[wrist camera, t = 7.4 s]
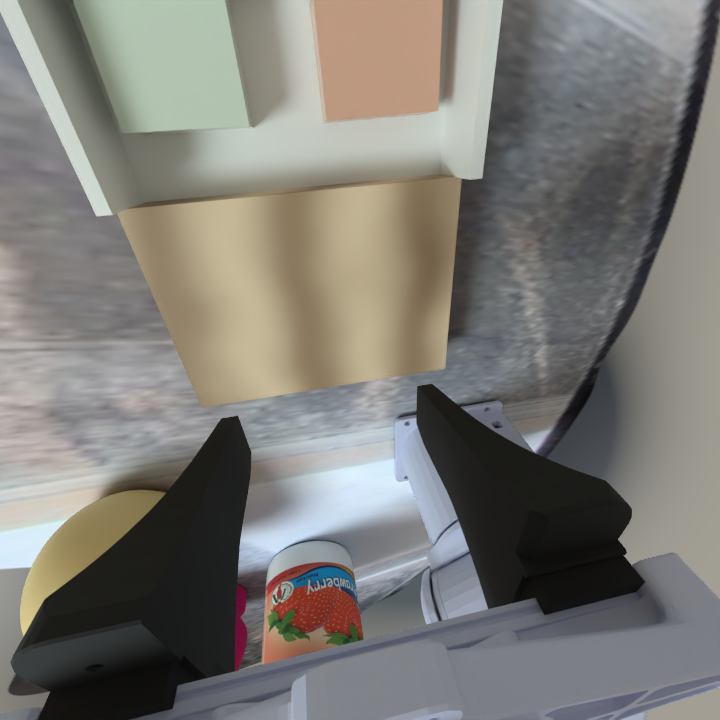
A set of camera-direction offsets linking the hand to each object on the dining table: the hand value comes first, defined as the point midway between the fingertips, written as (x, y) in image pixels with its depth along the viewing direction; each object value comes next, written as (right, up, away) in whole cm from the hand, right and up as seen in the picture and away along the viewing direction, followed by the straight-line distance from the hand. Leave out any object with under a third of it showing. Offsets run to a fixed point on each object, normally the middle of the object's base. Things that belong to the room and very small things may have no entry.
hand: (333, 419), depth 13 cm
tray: (-2, +15, +2) cm, 15 cm away
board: (-2, +7, +7) cm, 10 cm away
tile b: (-6, +14, -1) cm, 15 cm away
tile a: (+2, +15, 0) cm, 15 cm away
